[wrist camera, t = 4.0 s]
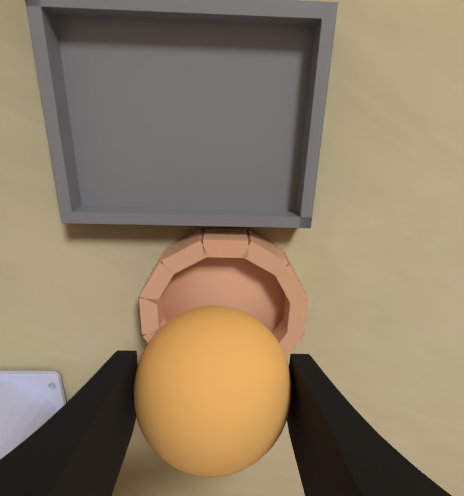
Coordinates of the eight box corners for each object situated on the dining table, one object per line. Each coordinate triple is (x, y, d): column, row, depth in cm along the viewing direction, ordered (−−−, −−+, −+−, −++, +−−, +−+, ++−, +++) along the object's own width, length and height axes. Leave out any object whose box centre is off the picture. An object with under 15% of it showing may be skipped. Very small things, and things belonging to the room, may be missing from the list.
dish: (291, 361, 23) (297, 382, 21) (152, 360, 23) (145, 382, 21) (306, 230, 20) (315, 241, 18) (142, 226, 19) (134, 238, 17)
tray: (302, 218, 19) (310, 228, 18) (75, 213, 19) (61, 223, 17) (325, 14, 16) (338, 2, 14) (44, 2, 15) (23, -12, 14)
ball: (275, 388, 14) (294, 522, 9) (157, 383, 14) (117, 515, 9) (287, 282, 12) (319, 384, 8) (151, 276, 12) (98, 375, 8)
